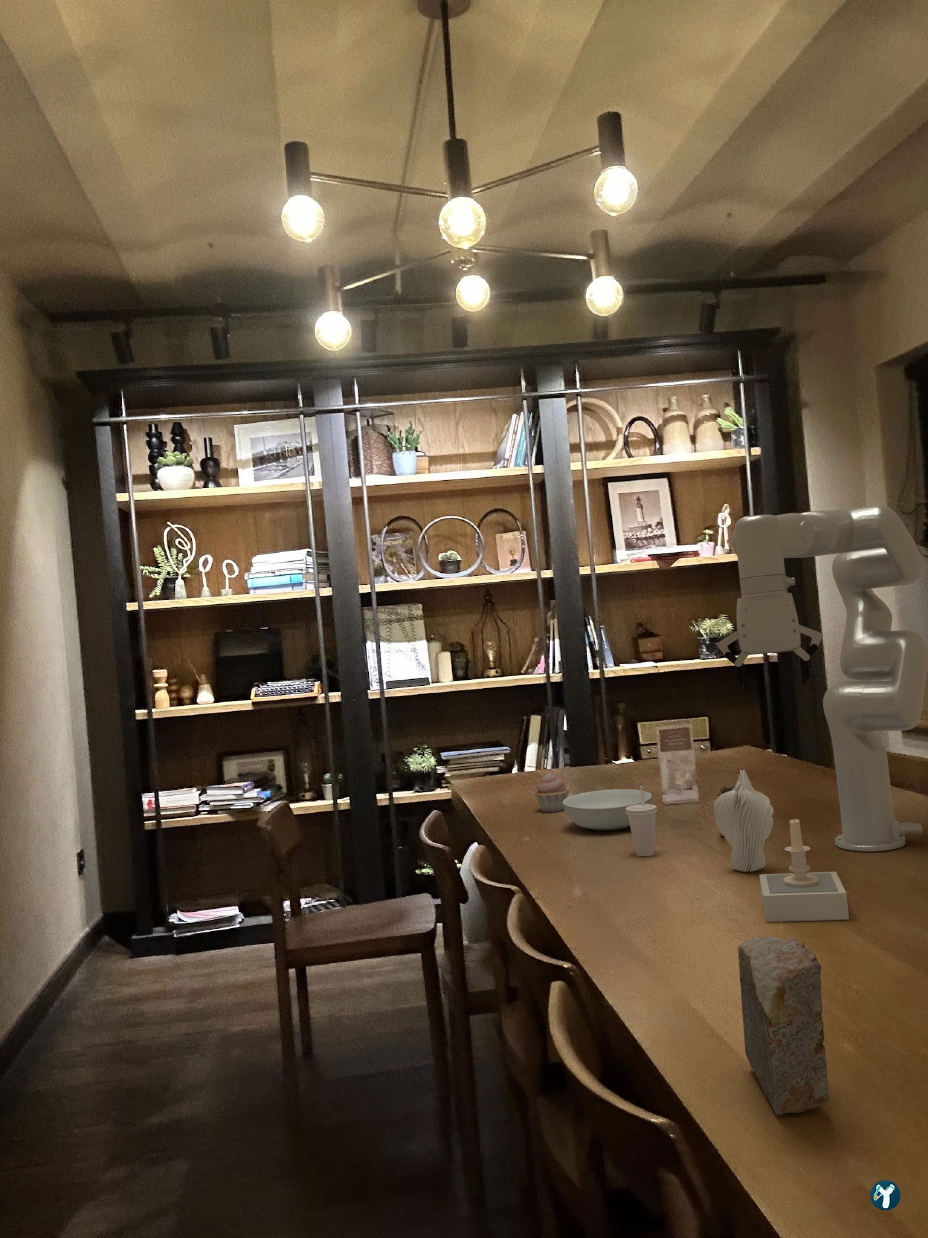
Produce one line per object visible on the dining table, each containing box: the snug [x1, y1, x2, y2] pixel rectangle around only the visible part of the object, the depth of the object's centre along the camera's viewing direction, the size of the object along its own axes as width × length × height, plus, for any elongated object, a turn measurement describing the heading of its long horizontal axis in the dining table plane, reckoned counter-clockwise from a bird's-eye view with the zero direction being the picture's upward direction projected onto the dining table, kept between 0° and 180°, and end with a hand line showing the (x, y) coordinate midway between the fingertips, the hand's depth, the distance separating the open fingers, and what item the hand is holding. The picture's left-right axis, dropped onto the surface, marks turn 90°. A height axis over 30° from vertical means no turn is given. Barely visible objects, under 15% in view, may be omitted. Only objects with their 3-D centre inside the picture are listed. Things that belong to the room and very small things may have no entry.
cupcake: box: [533, 771, 570, 813], centre depth 253 cm, size 9×9×10 cm
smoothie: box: [626, 785, 658, 857], centre depth 197 cm, size 6×6×14 cm
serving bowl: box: [563, 788, 653, 832], centre depth 227 cm, size 21×21×7 cm
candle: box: [784, 817, 818, 887], centre depth 153 cm, size 5×5×10 cm
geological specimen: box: [737, 936, 830, 1116], centre depth 97 cm, size 11×6×15 cm, turn 178°
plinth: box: [759, 871, 850, 923], centre depth 153 cm, size 12×12×4 cm
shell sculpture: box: [713, 769, 774, 873], centre depth 178 cm, size 8×8×18 cm
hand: (774, 686), depth 166 cm, fingers open, 9 cm apart
